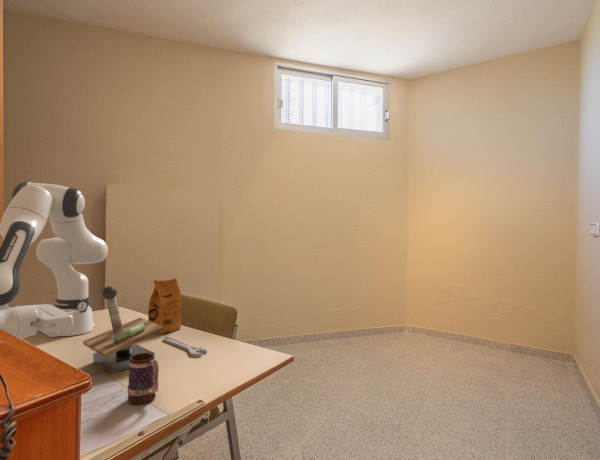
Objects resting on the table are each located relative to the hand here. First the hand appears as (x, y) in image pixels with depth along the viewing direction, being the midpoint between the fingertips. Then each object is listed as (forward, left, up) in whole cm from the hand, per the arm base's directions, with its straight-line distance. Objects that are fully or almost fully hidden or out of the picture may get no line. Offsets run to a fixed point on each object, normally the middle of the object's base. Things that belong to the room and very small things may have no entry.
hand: (78, 312), depth 124 cm
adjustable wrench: (+13, +33, -19) cm, 40 cm away
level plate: (+7, +12, -9) cm, 16 cm away
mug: (+35, -3, -19) cm, 39 cm away
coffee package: (-9, +44, -19) cm, 48 cm away
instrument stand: (+7, +12, -18) cm, 23 cm away
